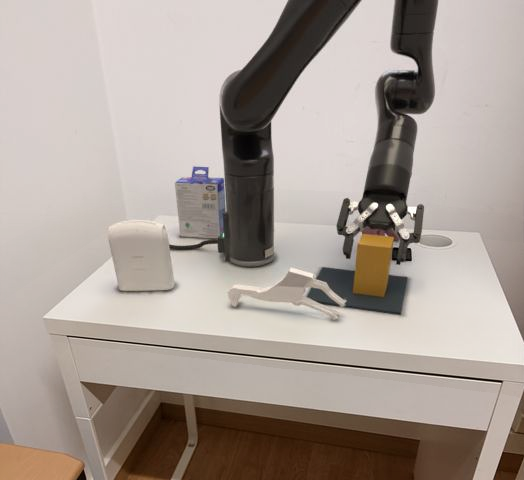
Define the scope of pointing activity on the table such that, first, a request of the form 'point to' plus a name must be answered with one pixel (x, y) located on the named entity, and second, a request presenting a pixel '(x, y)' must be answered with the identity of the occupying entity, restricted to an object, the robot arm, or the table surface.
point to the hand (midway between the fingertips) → (372, 260)
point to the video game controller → (380, 232)
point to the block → (373, 264)
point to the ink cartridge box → (200, 205)
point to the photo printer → (141, 255)
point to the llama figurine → (289, 291)
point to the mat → (343, 287)
